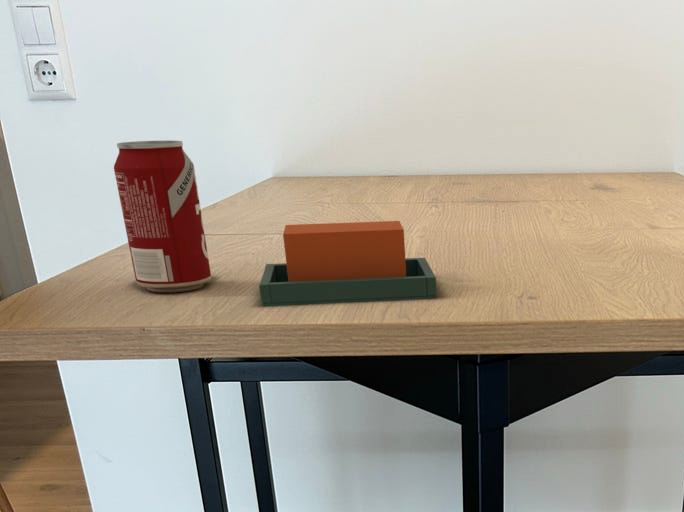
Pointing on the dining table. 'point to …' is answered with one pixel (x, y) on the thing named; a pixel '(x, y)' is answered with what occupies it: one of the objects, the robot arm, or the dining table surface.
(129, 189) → the soda can
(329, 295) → the dark green tray
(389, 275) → the orange rectangular block
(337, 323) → the dining table surface
